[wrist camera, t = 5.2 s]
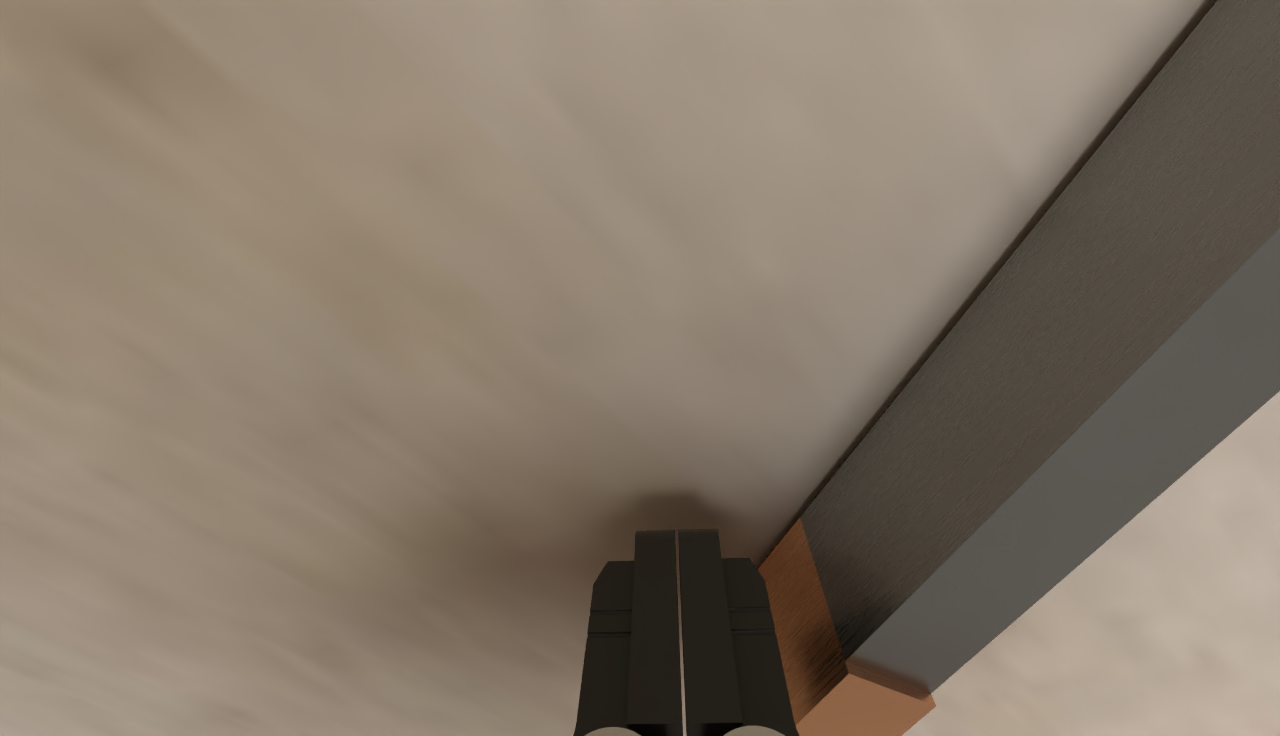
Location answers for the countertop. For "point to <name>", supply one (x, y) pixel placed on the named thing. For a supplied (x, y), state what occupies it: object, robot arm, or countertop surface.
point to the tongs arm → (1052, 395)
